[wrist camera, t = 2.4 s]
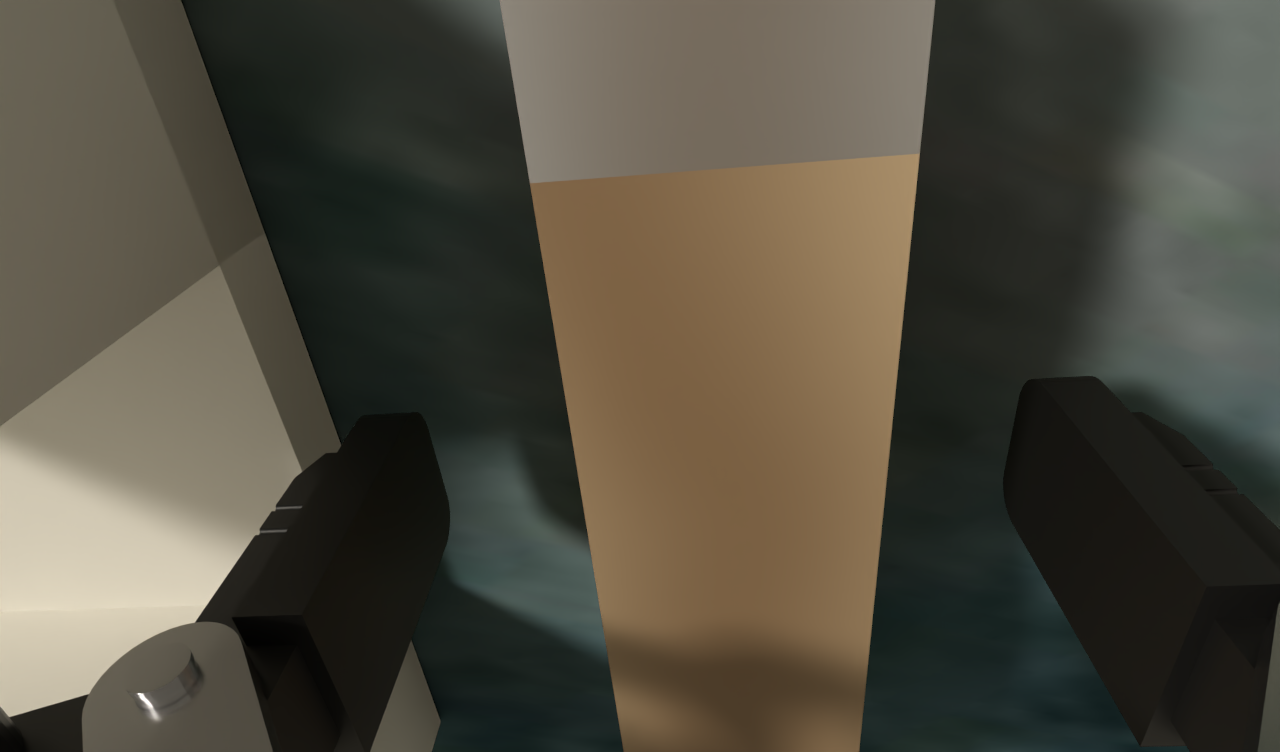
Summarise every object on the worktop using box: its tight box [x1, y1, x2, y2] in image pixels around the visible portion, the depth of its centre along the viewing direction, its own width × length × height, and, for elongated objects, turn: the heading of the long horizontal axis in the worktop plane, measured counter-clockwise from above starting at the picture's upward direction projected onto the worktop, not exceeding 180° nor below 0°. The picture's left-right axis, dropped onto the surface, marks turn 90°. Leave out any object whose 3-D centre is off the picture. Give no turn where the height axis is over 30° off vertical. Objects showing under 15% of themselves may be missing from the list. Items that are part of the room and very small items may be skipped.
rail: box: [500, 0, 935, 752], centre depth 10 cm, size 3×15×4 cm, turn 5°
